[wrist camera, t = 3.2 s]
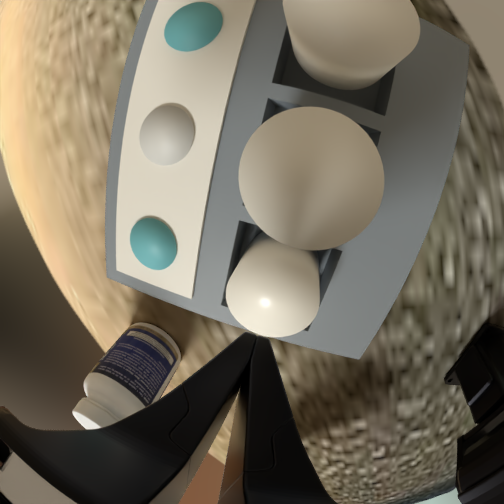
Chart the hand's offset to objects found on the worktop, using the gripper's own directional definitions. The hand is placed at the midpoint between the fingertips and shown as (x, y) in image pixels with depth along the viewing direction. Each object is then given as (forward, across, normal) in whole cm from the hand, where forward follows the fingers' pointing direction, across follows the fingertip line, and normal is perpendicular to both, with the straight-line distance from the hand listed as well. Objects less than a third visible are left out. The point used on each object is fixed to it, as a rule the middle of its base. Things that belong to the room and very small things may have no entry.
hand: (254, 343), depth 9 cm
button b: (+4, 0, -5) cm, 7 cm away
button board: (+8, +2, -6) cm, 10 cm away
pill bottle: (+8, +8, +12) cm, 16 cm away
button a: (+4, 0, -11) cm, 12 cm away
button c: (+7, 0, 0) cm, 7 cm away
